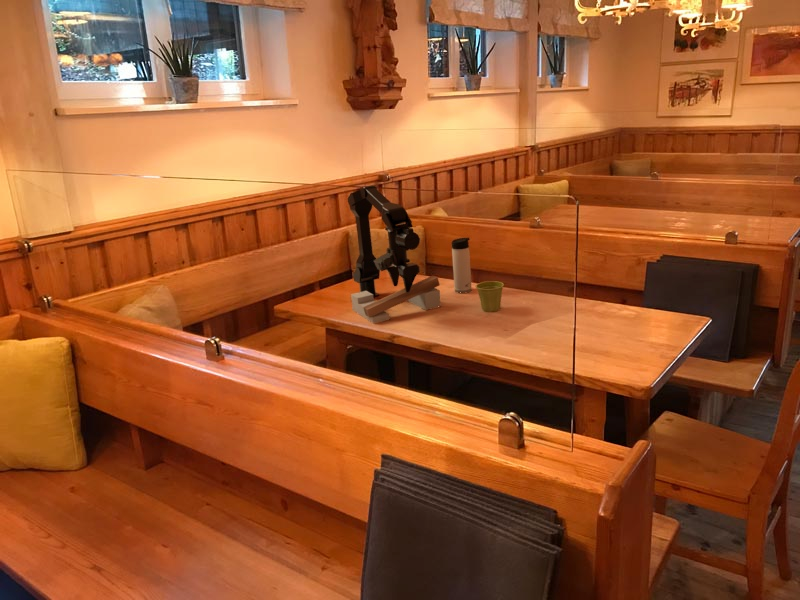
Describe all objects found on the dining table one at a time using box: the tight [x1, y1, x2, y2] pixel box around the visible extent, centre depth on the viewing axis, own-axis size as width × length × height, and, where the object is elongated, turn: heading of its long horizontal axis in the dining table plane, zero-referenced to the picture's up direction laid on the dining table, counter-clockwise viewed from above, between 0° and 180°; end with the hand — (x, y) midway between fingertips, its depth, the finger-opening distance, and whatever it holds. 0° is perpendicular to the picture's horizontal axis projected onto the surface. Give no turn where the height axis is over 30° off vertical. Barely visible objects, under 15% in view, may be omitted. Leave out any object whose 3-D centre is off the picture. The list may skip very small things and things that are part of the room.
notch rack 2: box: [406, 287, 442, 311], centre depth 242 cm, size 18×6×6 cm, turn 26°
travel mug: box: [451, 237, 473, 294], centre depth 248 cm, size 6×7×20 cm
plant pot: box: [475, 280, 505, 313], centre depth 228 cm, size 9×9×9 cm
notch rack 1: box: [350, 291, 390, 324], centre depth 234 cm, size 18×6×6 cm, turn 26°
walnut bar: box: [363, 275, 441, 318], centre depth 232 cm, size 4×28×3 cm, turn 116°
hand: (401, 289), depth 232 cm, fingers open, 9 cm apart
